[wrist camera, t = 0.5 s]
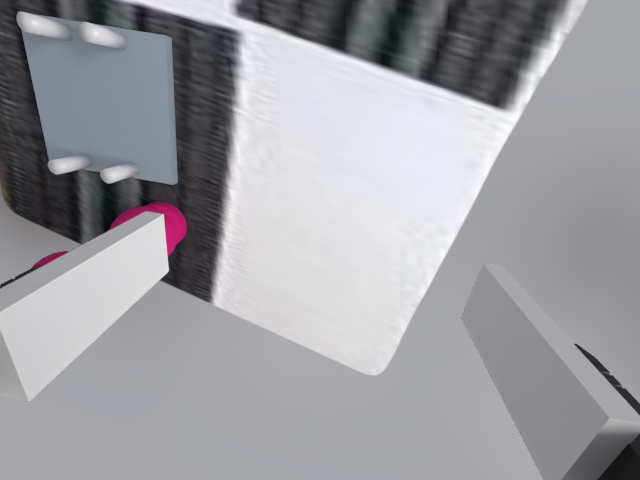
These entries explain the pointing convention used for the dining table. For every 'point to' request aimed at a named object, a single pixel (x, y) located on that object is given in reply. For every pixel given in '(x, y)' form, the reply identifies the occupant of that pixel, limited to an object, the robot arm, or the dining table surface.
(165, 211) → the pepper mill
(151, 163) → the tray
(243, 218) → the dining table surface
